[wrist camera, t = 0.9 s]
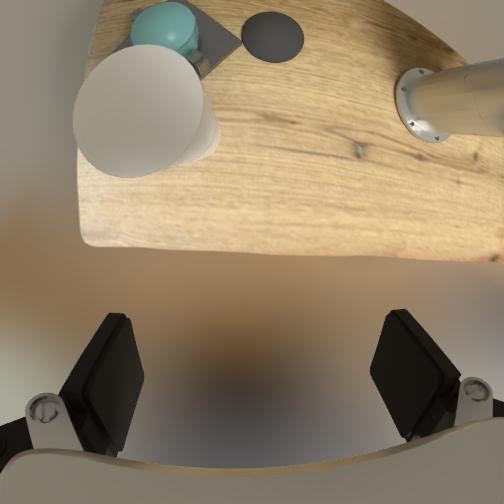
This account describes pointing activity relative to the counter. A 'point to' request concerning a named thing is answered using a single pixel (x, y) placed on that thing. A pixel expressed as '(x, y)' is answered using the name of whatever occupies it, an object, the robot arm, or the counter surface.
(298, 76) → the counter surface
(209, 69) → the grey square base plate
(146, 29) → the cap
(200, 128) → the cylindrical container
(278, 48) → the coaster
